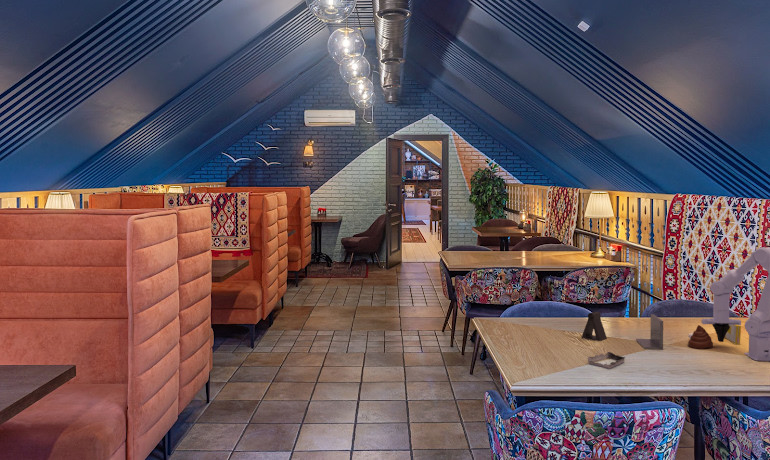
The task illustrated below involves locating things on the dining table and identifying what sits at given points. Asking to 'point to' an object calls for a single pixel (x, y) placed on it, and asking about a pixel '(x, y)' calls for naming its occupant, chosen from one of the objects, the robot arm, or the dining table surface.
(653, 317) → the bookend
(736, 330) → the candy box
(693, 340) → the poop emoji
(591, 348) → the dining table surface
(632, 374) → the dining table surface
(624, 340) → the dining table surface
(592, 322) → the phone stand
